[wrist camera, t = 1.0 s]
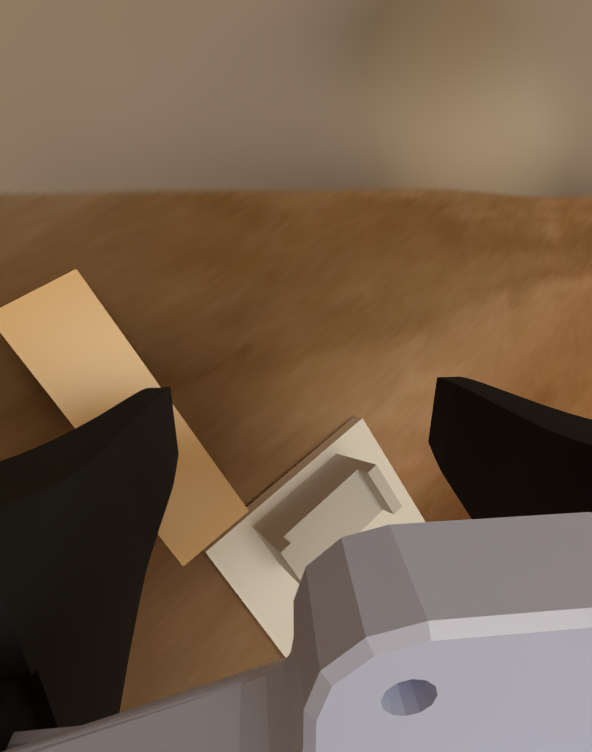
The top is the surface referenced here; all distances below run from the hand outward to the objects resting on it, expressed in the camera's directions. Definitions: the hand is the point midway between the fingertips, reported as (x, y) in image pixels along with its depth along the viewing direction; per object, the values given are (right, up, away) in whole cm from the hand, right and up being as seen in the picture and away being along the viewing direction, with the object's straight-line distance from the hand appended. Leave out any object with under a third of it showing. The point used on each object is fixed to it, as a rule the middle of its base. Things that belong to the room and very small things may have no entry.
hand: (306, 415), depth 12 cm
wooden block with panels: (-9, -1, +9) cm, 13 cm away
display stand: (+2, -10, +14) cm, 17 cm away
